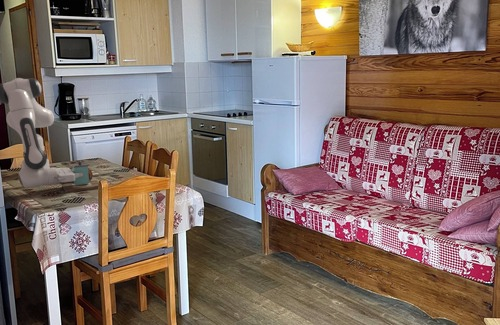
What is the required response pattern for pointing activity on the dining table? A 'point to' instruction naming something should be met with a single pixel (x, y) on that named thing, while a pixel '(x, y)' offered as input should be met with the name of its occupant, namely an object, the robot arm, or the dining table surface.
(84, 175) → the housing
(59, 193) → the dining table surface
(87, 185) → the pin board
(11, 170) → the dining table surface
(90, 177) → the tin
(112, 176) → the dining table surface
